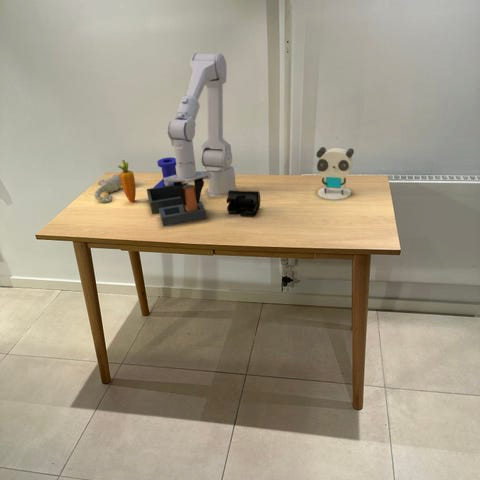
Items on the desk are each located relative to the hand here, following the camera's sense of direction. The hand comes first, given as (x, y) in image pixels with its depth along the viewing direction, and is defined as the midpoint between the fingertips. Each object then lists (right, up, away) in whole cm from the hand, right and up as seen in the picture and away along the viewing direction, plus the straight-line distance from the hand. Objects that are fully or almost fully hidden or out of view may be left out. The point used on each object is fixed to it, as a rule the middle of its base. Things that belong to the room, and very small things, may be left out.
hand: (190, 203), depth 151 cm
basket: (-8, +2, +12) cm, 15 cm away
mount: (-10, +14, +28) cm, 34 cm away
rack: (-3, -5, +3) cm, 6 cm away
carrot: (-22, +4, +16) cm, 27 cm away
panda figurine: (+48, +6, +12) cm, 50 cm away
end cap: (+17, -2, +4) cm, 18 cm away
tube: (0, -2, +1) cm, 2 cm away
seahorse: (-31, +10, +25) cm, 41 cm away
